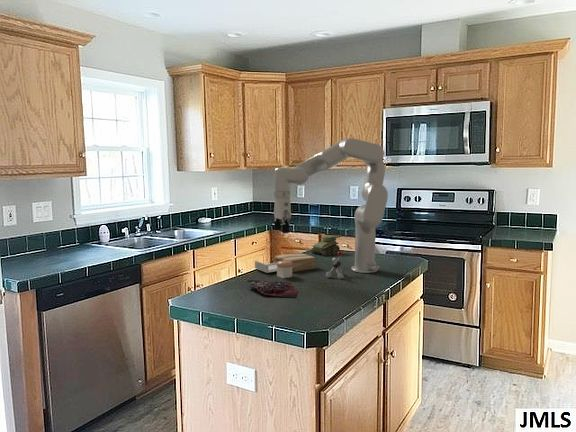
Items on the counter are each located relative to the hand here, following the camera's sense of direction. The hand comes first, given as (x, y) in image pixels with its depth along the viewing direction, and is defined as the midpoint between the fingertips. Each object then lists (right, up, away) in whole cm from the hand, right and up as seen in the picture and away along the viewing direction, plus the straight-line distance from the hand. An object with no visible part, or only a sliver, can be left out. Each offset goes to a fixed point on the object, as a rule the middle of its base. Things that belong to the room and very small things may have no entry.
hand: (281, 231), depth 225 cm
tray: (-4, -18, +7) cm, 20 cm away
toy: (+26, -14, +50) cm, 58 cm away
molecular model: (+26, -21, -2) cm, 33 cm away
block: (+1, -20, -3) cm, 21 cm away
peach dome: (+2, -16, -4) cm, 16 cm away
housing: (+6, -18, +14) cm, 24 cm away
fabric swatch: (-3, -24, -27) cm, 36 cm away
